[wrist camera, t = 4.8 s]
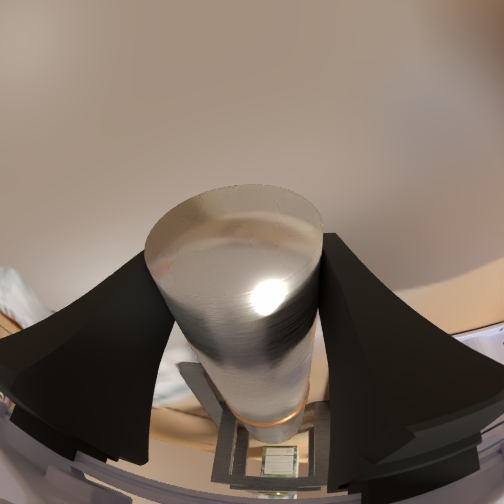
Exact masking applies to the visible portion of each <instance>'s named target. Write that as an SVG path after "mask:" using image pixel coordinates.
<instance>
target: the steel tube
mask: <svg viewBox="0 0 504 504" xmlns="http://www.w3.org/2000/svg"><path fill="white" fill-rule="evenodd" d="M322 244H323V222H322V219H321V216H320V214H319V212H318V210H317V209H316V208H315V206H314V205H313V204H312V203H311V202H309V201H308V200H307V199H306V198H304V197H303V196H301V195H299V194H297V193H295V192H293V191H290V190H287V189H284V188H280V187H275V186H269V185H252V184H251V185H235V186H228V187H223V188H219V189H215V190H211V191H208V192H205V193H202V194H199V195H197V196H195V197H192V198H190V199H188V200H186V201H184V202H182V203H181V204H179V205H177V206H176V207H174V208H173V209H171V210H170V211H169V212H168V213H166V214H165V215H164V216H163V217H162V218H161V219H160V220H159V221H158V222H157V223H156V224H155V226H154V227H153V229H152V230H151V232H150V234H149V236H148V237H147V240H146V243H145V249H144V256H145V261H146V264H147V267H148V269H149V271H150V273H151V275H152V277H153V279H154V281H155V283H156V285H157V287H158V289H159V291H160V293H161V295H162V296H163V298H164V300H165V302H166V304H167V306H168V308H169V309H170V311H171V313H172V315H173V317H174V318H175V320H176V322H177V324H178V325H179V327H180V329H181V331H182V332H183V334H184V336H185V338H186V339H187V341H188V343H189V344H190V346H191V348H192V349H193V351H194V353H195V354H196V356H197V357H198V359H199V361H200V362H201V364H202V365H203V367H204V369H205V370H206V372H207V373H208V375H209V376H210V378H211V379H212V381H213V382H214V384H215V385H216V387H217V388H218V390H219V391H220V393H221V394H222V396H223V397H224V399H225V401H226V404H227V405H228V407H229V409H230V410H231V411H232V413H233V414H234V415H235V416H236V417H237V418H238V419H239V420H240V421H241V422H242V424H243V425H244V426H245V428H246V429H247V430H248V431H249V433H250V434H251V435H252V436H253V437H254V438H255V439H257V440H259V441H261V442H263V443H267V444H278V443H282V442H285V441H287V440H289V439H291V438H292V437H293V436H294V435H295V434H296V433H297V432H298V431H299V429H300V427H301V424H302V419H303V414H304V408H305V405H306V402H307V399H308V394H309V386H310V384H309V377H310V370H311V363H312V356H313V348H314V339H315V331H316V321H317V312H318V301H319V289H320V276H321V261H322Z"/></svg>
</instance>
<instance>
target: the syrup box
mask: <svg viewBox="0 0 504 504" xmlns="http://www.w3.org/2000/svg"><path fill="white" fill-rule="evenodd" d="M298 466H299V451H298V447H297V446H295V447H263V454H262V465H261V474H260V477H298ZM258 498H262V499H297V494H296V495H261V494H258Z"/></svg>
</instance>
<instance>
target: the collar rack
mask: <svg viewBox="0 0 504 504" xmlns="http://www.w3.org/2000/svg"><path fill="white" fill-rule="evenodd" d="M180 374H181V375H182V377H183V379H184V380H185V382H186V383H187V385H188V386H189V388H190V389H191V391H192V392H193V393H194V395H195V396H196V398H197V399H198V401H199V402H200V403H201V405H202V406H203V408H204V409H205V410H206V412H207V413H208V414H209V416H210V417H211V419H212V420H213V421H214V422H215V424H216V425H217V426H218V428H219V434H218V440H217V446H216V452H215V458H214V464H213V470H212V476H211V482H214V483H221V484H230V489H236V490H245V491H248V492H250V493H253V494H261V495H296V494H297V493H298V492H308V491H320V490H321V486H327V480H328V468H329V451H330V401H323V402H314V427H312V428H309V443H308V477H253V476H245V475H246V466H247V458H248V450H249V441H250V433H249V431H248V430H247V429H246V428H245V427H238V426H237V425H238V418H237V417H236V416H235V415H234V414H233V413H232V411H231V410H230V409H229V407H228V405H227V404H226V401H224V400H223V398H222V396H221V394H220V392H219V390H218V388H217V387H216V385H215V384H214V382H213V381H212V379H211V378H210V376H209V375H208V373H207V372H206V370H205V369H204V367H203V365H202V364H198V363H187V362H182V365H181V368H180ZM235 445H236V447H235ZM234 447H235V454H234ZM233 455H234V462H233ZM232 462H233V470H232V475H231V469H232Z"/></svg>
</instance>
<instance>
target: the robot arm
mask: <svg viewBox="0 0 504 504" xmlns="http://www.w3.org/2000/svg"><path fill="white" fill-rule="evenodd" d="M318 310H319V315H320V321H321V326H322V332H323V337H324V343H325V348H326V354H327V360H328V368H329V384H330V451H329V468H328V480H327V493H335V492H344V491H348V495H342V496H334V497H324V498H309V499H262V498H247V497H236V496H228V495H220V494H213V493H207V492H202V491H196V490H191V489H186V488H182V487H178V486H173V485H169V484H165V483H162V482H158V481H155V480H151V479H148V478H145V477H142V476H139V475H135V474H133V473H130V472H127V471H124V470H122V469H119V468H116V467H114V466H111V465H109V464H106V461H107V458H108V459H110V460H113V461H116V462H117V461H118V460H119V459H122V460H125V461H128V462H131V463H134V464H137V465H140V466H141V465H144V464H146V463H147V462H148V460H149V459H148V448H149V447H148V446H149V427H150V416H151V408H152V401H153V395H154V389H155V384H156V379H157V374H158V369H159V365H160V362H161V359H162V356H163V353H164V350H165V347H166V344H167V342H168V339H169V336H170V333H171V331H172V328H173V325H174V322H175V318H174V317H173V315H172V313H171V311H170V309H169V308H168V306H167V304H166V302H165V300H164V298H163V296H162V295H161V293H160V291H159V289H158V287H157V285H156V283H155V281H154V279H153V277H152V275H151V273H150V271H149V269H148V267H147V264H146V261H145V256H144V250H143V251H142V252H140V253H139V254H137V255H136V256H135V257H134V258H132V259H131V260H130V261H128V262H127V263H126V264H124V265H123V266H122V267H121V268H119V269H118V270H117V271H116V272H114V273H113V274H112V275H110V276H109V277H108V278H106V279H105V280H104V281H102V282H101V283H100V284H98V285H97V286H96V287H94V288H93V289H92V290H90V291H89V292H88V293H86V294H85V295H83V296H82V297H81V298H79V299H77V300H76V301H74V302H73V303H71V304H70V305H68V306H67V307H65V308H63V309H61V310H60V311H58V312H56V313H54V314H53V315H51V316H49V317H48V318H46V319H44V320H42V321H40V322H38V323H36V324H34V325H32V326H30V327H28V328H26V329H24V330H21V331H19V332H17V333H14V334H12V335H9V336H6V337H4V338H1V339H0V392H1V393H3V394H4V395H5V396H6V397H7V398H8V399H10V400H11V401H12V402H13V403H14V404H16V405H15V407H14V410H12V409H10V408H9V407H8V406H7V405H6V404H5V403H4V402H2V401H1V400H0V493H1V495H2V497H3V499H2V498H0V504H132V501H133V500H132V499H131V497H129V496H127V495H125V494H123V493H121V492H118V491H116V490H114V489H111V488H109V487H106V486H103V485H100V484H98V483H95V482H92V481H90V480H87V479H86V478H85V476H84V473H86V474H87V475H89V476H92V477H94V478H96V479H98V480H100V481H102V482H104V483H107V484H109V485H112V486H113V487H116V488H118V489H121V490H123V491H126V492H128V493H131V494H134V495H137V496H139V497H142V498H146V499H148V500H151V501H155V502H158V503H161V504H504V322H503V323H500V324H496V325H493V326H489V327H485V328H482V329H478V330H474V331H470V332H466V333H461V334H457V335H453V336H450V335H449V334H447V333H446V332H444V331H443V330H441V329H440V328H438V327H437V326H435V325H434V324H433V323H431V322H430V321H428V320H427V319H426V318H424V317H423V316H421V315H420V314H419V313H417V312H416V311H415V310H413V309H412V308H411V307H410V306H408V305H407V304H406V303H405V302H404V301H402V300H401V299H400V298H399V297H398V296H396V295H395V294H394V293H393V292H392V291H391V290H389V289H388V288H387V287H386V286H385V285H384V284H383V283H382V282H381V281H380V280H379V279H377V277H376V276H375V275H374V274H373V273H372V272H371V271H370V270H369V269H368V268H367V267H366V266H365V265H364V264H363V263H362V262H361V261H360V260H359V259H358V258H357V256H356V255H355V254H354V253H353V252H352V251H351V250H350V249H349V248H348V246H347V245H346V244H345V243H344V242H343V241H342V240H341V238H340V237H339V236H338V235H337V234H336V233H323V244H322V261H321V276H320V289H319V301H318ZM83 472H84V473H83Z"/></svg>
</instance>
